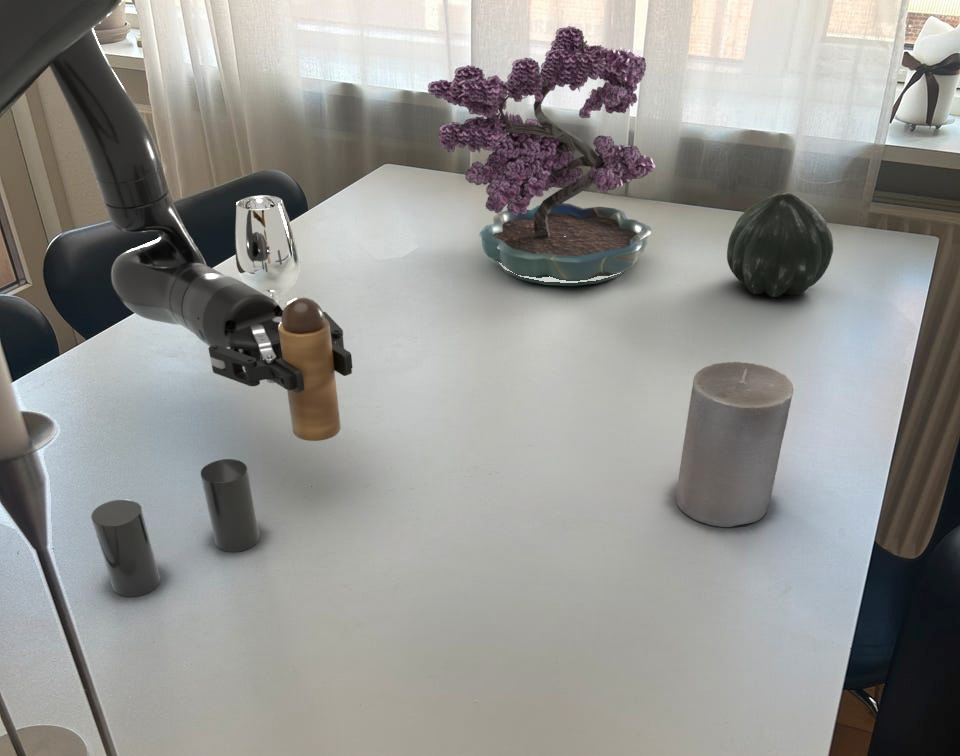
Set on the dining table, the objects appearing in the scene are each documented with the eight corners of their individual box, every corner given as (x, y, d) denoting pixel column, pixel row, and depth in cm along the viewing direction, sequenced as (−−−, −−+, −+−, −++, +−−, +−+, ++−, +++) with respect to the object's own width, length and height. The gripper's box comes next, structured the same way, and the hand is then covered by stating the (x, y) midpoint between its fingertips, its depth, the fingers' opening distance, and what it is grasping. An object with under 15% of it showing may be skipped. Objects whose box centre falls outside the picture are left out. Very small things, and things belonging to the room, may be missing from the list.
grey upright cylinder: (229, 557, 99) (214, 487, 93) (207, 538, 101) (192, 469, 96) (267, 540, 101) (255, 471, 96) (245, 522, 103) (232, 454, 98)
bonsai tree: (637, 232, 170) (658, 8, 149) (671, 293, 149) (700, 43, 128) (432, 239, 168) (423, 13, 147) (437, 301, 148) (427, 49, 127)
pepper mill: (310, 446, 99) (292, 314, 90) (283, 428, 101) (264, 298, 92) (350, 430, 101) (336, 299, 92) (323, 413, 104) (308, 284, 95)
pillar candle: (692, 471, 110) (711, 341, 101) (779, 492, 107) (808, 360, 97) (662, 514, 104) (679, 380, 94) (754, 538, 100) (782, 401, 91)
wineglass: (242, 368, 131) (215, 210, 118) (267, 344, 137) (244, 190, 124) (297, 375, 129) (275, 215, 116) (320, 350, 135) (302, 195, 122)
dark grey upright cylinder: (125, 602, 93) (103, 531, 88) (105, 581, 96) (83, 511, 91) (168, 584, 95) (149, 513, 90) (147, 563, 98) (128, 493, 93)
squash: (806, 226, 155) (766, 157, 145) (866, 263, 145) (826, 190, 135) (736, 295, 159) (691, 232, 148) (789, 335, 148) (745, 270, 138)
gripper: (163, 302, 99) (253, 359, 89) (287, 266, 106) (382, 315, 96) (179, 372, 104) (265, 434, 94) (295, 334, 111) (388, 387, 101)
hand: (324, 373), depth 95 cm, fingers closed on pepper mill, 5 cm apart
